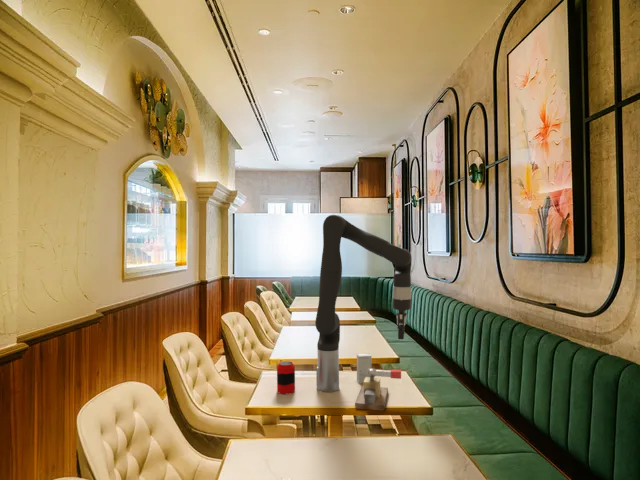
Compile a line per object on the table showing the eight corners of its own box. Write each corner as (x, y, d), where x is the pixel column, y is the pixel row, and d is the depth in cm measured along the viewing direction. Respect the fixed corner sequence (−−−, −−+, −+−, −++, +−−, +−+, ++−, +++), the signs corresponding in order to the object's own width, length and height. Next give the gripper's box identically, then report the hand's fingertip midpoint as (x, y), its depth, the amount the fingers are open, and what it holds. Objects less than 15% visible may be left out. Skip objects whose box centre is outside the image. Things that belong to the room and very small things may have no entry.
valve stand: (355, 408, 159) (354, 383, 159) (361, 390, 177) (361, 368, 177) (384, 410, 156) (383, 385, 156) (387, 392, 175) (387, 369, 175)
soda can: (296, 393, 175) (296, 365, 175) (278, 395, 173) (278, 366, 173) (293, 387, 182) (293, 360, 182) (276, 389, 180) (275, 361, 180)
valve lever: (367, 376, 166) (367, 370, 166) (368, 374, 169) (368, 367, 169) (400, 379, 162) (400, 372, 162) (401, 376, 166) (401, 369, 166)
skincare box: (358, 383, 186) (358, 356, 186) (356, 380, 190) (356, 353, 190) (372, 382, 187) (371, 355, 187) (369, 379, 191) (369, 353, 191)
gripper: (393, 294, 179) (393, 332, 179) (391, 299, 165) (391, 340, 165) (411, 295, 177) (410, 333, 177) (410, 300, 163) (410, 341, 163)
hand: (401, 336), depth 171 cm, fingers open, 8 cm apart
